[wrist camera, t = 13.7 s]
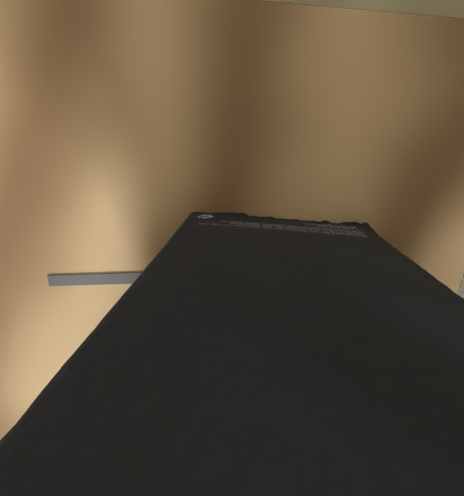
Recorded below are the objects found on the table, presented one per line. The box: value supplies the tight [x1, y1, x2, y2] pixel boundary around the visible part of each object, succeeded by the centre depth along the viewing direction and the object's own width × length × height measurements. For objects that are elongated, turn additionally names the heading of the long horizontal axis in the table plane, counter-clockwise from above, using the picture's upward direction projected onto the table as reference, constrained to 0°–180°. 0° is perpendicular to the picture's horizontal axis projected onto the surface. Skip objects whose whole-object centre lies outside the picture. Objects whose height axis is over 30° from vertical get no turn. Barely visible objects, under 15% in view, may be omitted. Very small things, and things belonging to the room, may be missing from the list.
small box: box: [0, 212, 464, 496], centre depth 8 cm, size 11×6×10 cm, turn 176°
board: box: [0, 0, 464, 440], centre depth 14 cm, size 18×22×2 cm
